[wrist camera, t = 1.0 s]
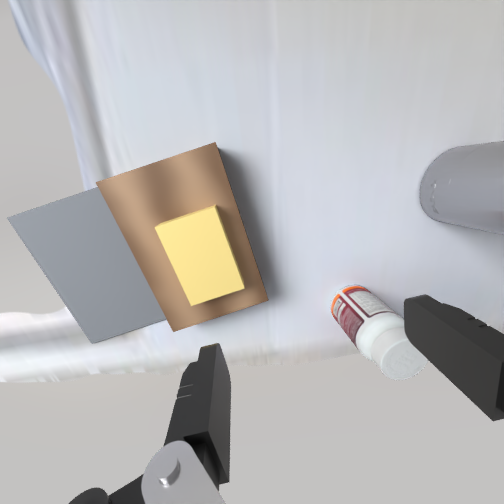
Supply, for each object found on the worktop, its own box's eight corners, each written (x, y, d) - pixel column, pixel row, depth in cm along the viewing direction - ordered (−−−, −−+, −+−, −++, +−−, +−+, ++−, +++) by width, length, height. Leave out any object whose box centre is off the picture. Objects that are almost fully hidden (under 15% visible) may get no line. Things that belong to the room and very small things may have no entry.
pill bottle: (342, 328, 35) (393, 395, 24) (320, 301, 33) (364, 360, 23) (377, 303, 34) (444, 361, 24) (356, 275, 32) (419, 323, 22)
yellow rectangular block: (215, 204, 24) (214, 207, 22) (243, 280, 27) (244, 288, 25) (160, 223, 24) (154, 227, 22) (193, 296, 27) (191, 306, 25)
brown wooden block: (217, 147, 26) (215, 142, 22) (263, 285, 32) (268, 300, 28) (115, 181, 26) (95, 182, 22) (179, 313, 32) (173, 332, 28)
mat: (110, 183, 26) (109, 183, 26) (176, 314, 32) (175, 315, 31) (9, 217, 26) (6, 217, 26) (93, 342, 32) (91, 343, 31)
